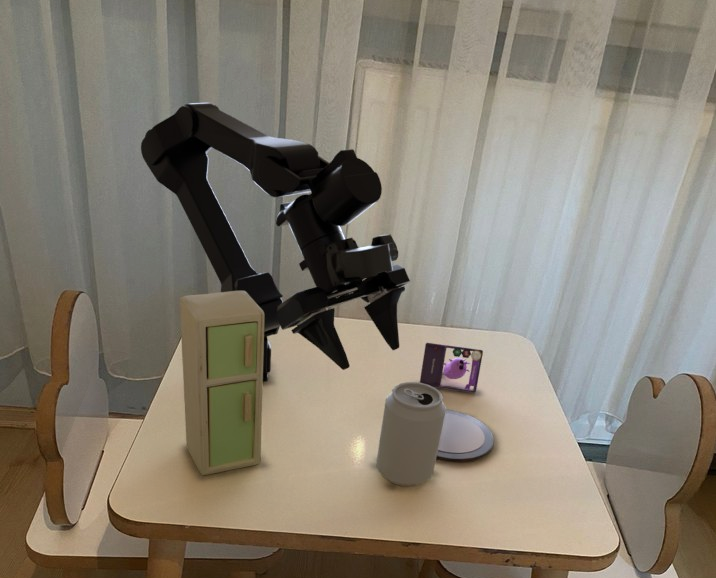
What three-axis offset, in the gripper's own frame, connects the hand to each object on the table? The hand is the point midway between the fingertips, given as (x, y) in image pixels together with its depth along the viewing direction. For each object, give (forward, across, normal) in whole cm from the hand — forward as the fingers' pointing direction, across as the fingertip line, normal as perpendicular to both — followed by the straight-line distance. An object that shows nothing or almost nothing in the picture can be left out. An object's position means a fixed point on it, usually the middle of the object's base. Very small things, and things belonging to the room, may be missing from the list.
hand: (372, 358), depth 90 cm
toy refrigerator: (+4, -17, +15) cm, 23 cm away
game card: (+7, +24, +12) cm, 28 cm away
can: (+15, 0, +3) cm, 16 cm away
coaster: (+14, +11, +4) cm, 18 cm away
